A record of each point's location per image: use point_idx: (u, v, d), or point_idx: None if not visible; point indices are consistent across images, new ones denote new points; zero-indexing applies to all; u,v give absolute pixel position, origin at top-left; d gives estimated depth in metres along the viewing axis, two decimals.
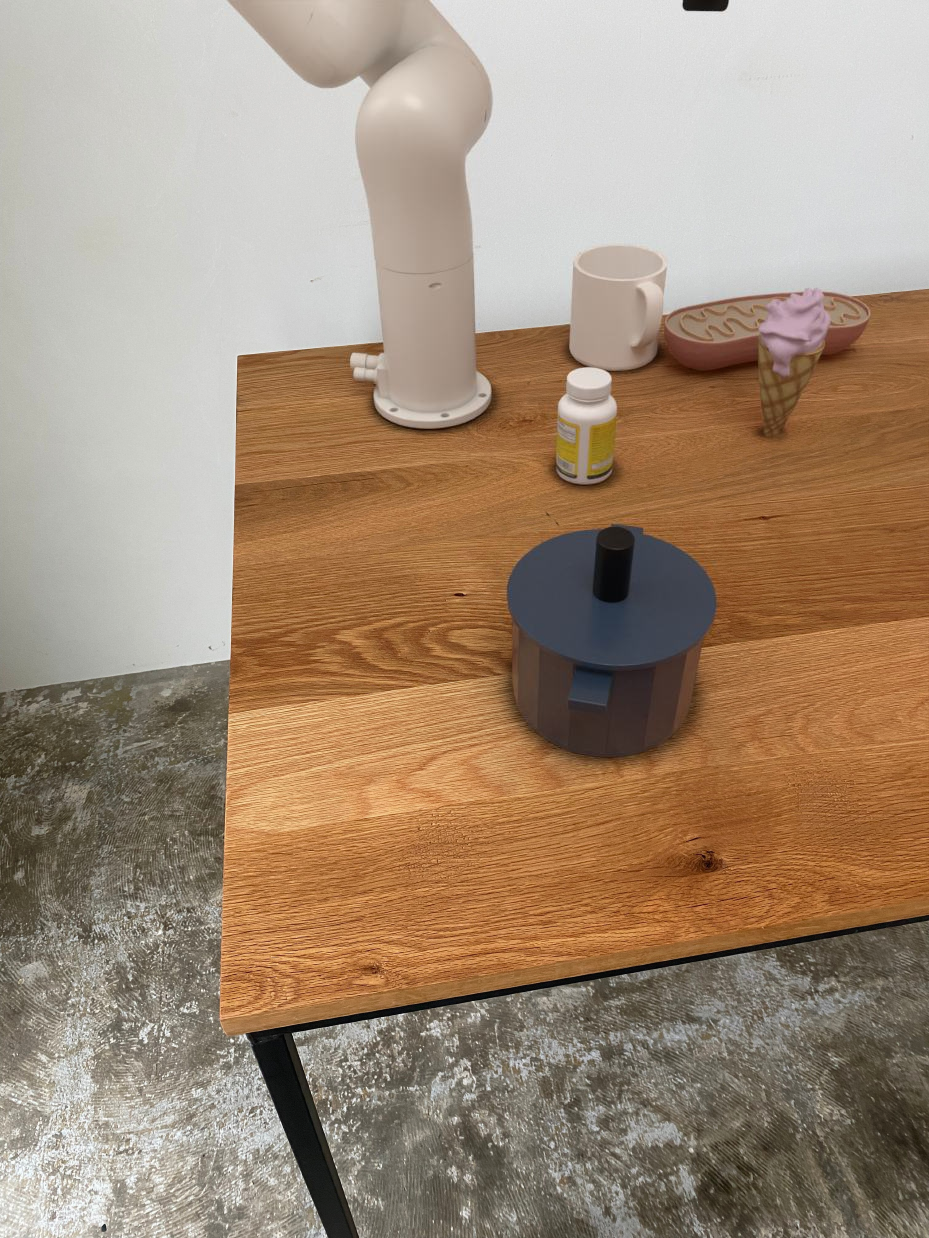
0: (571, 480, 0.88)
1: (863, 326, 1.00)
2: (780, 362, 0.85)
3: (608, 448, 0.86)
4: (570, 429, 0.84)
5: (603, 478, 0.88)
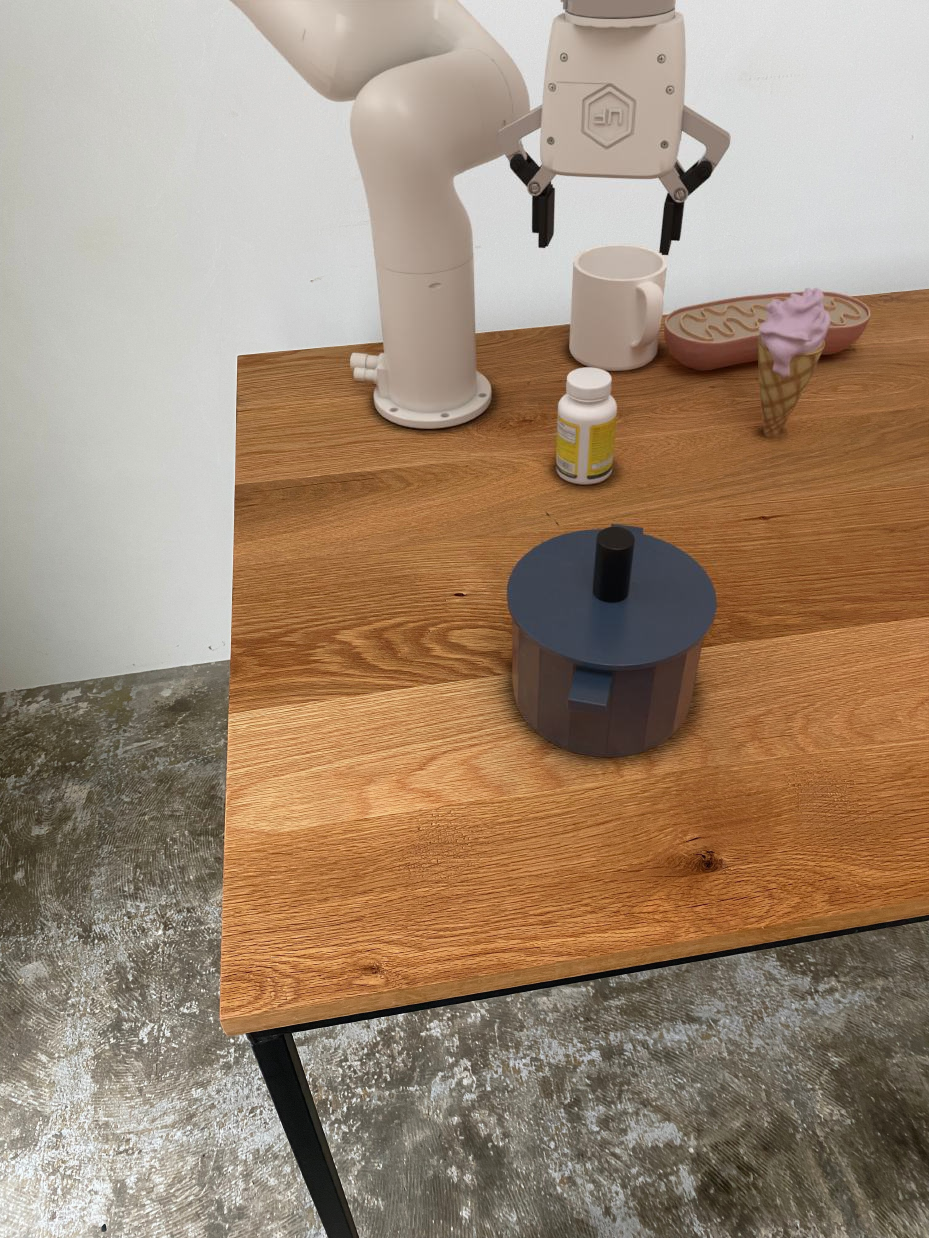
0: (571, 480, 0.88)
1: (863, 326, 1.00)
2: (780, 362, 0.85)
3: (608, 448, 0.86)
4: (570, 429, 0.84)
5: (603, 478, 0.88)
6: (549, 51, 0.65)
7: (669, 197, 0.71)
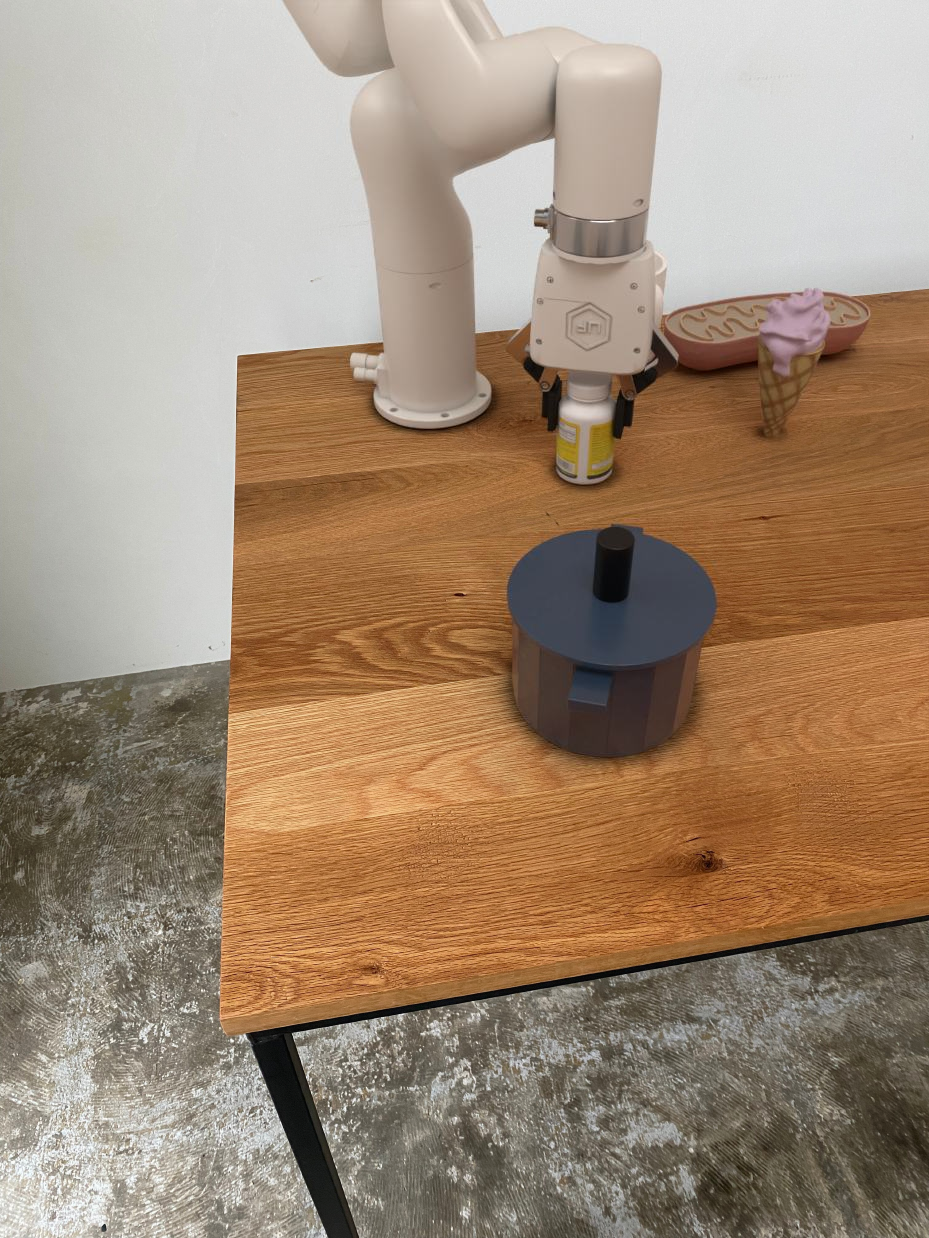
0: (571, 480, 0.88)
1: (863, 326, 1.00)
2: (780, 362, 0.85)
3: (608, 448, 0.86)
4: (570, 429, 0.84)
5: (603, 478, 0.88)
6: (537, 273, 0.76)
7: (621, 394, 0.82)
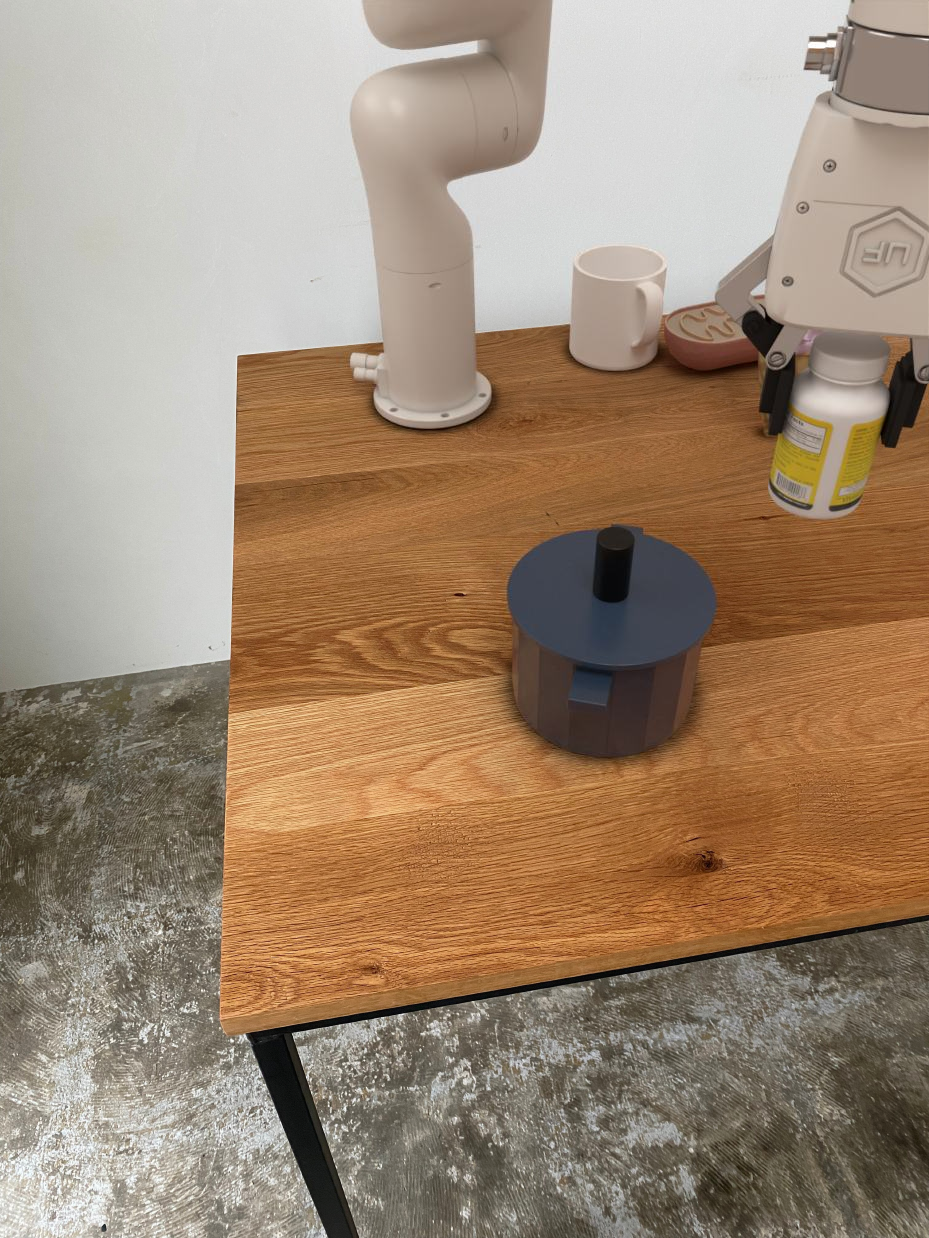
0: (800, 512, 0.54)
1: None
2: None
3: (869, 462, 0.53)
4: (814, 431, 0.51)
5: (852, 509, 0.54)
6: (804, 155, 0.43)
7: (908, 374, 0.49)
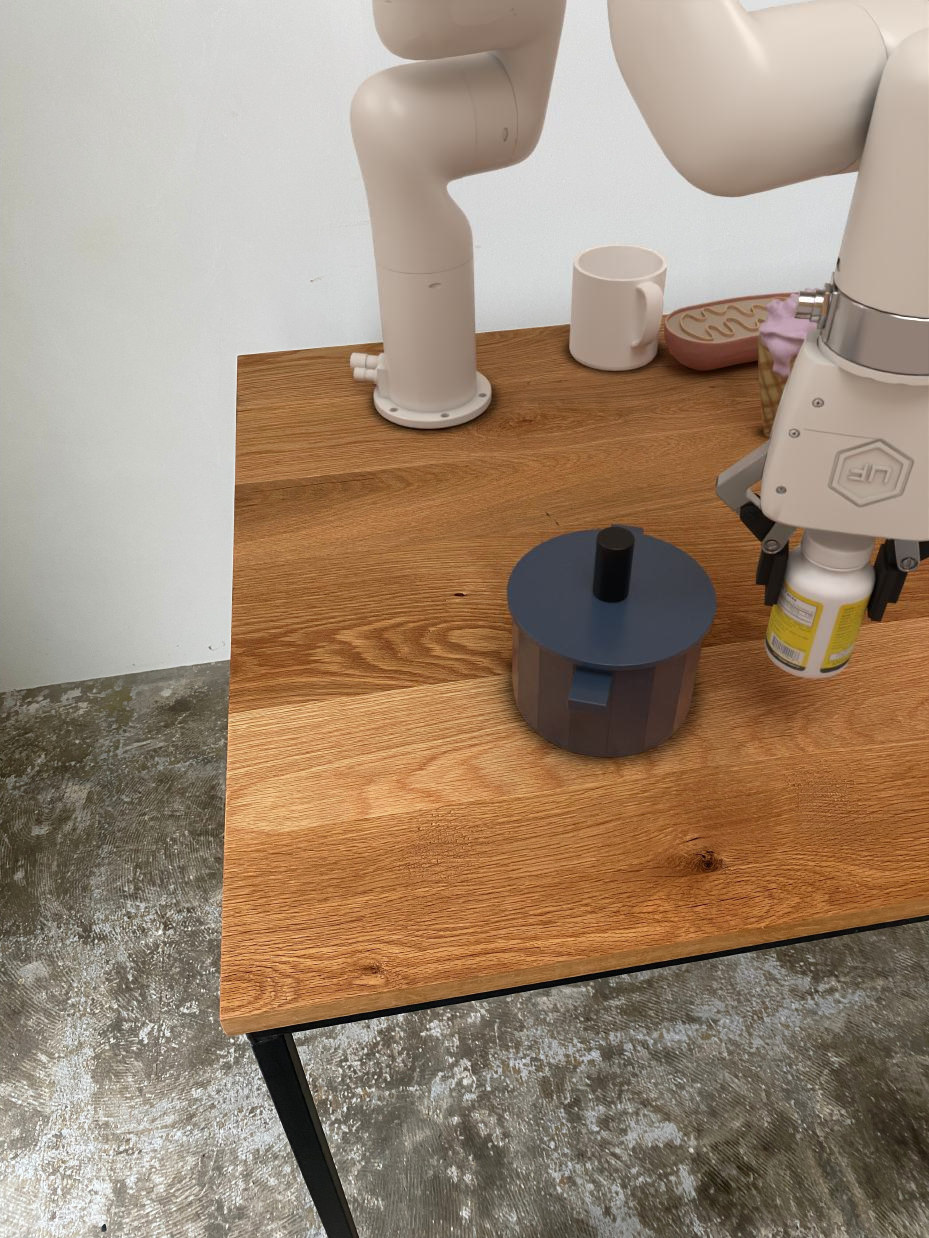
0: (794, 672, 0.59)
1: None
2: (780, 362, 0.85)
3: (857, 631, 0.57)
4: (806, 607, 0.56)
5: (841, 669, 0.59)
6: (795, 391, 0.48)
7: (891, 561, 0.54)
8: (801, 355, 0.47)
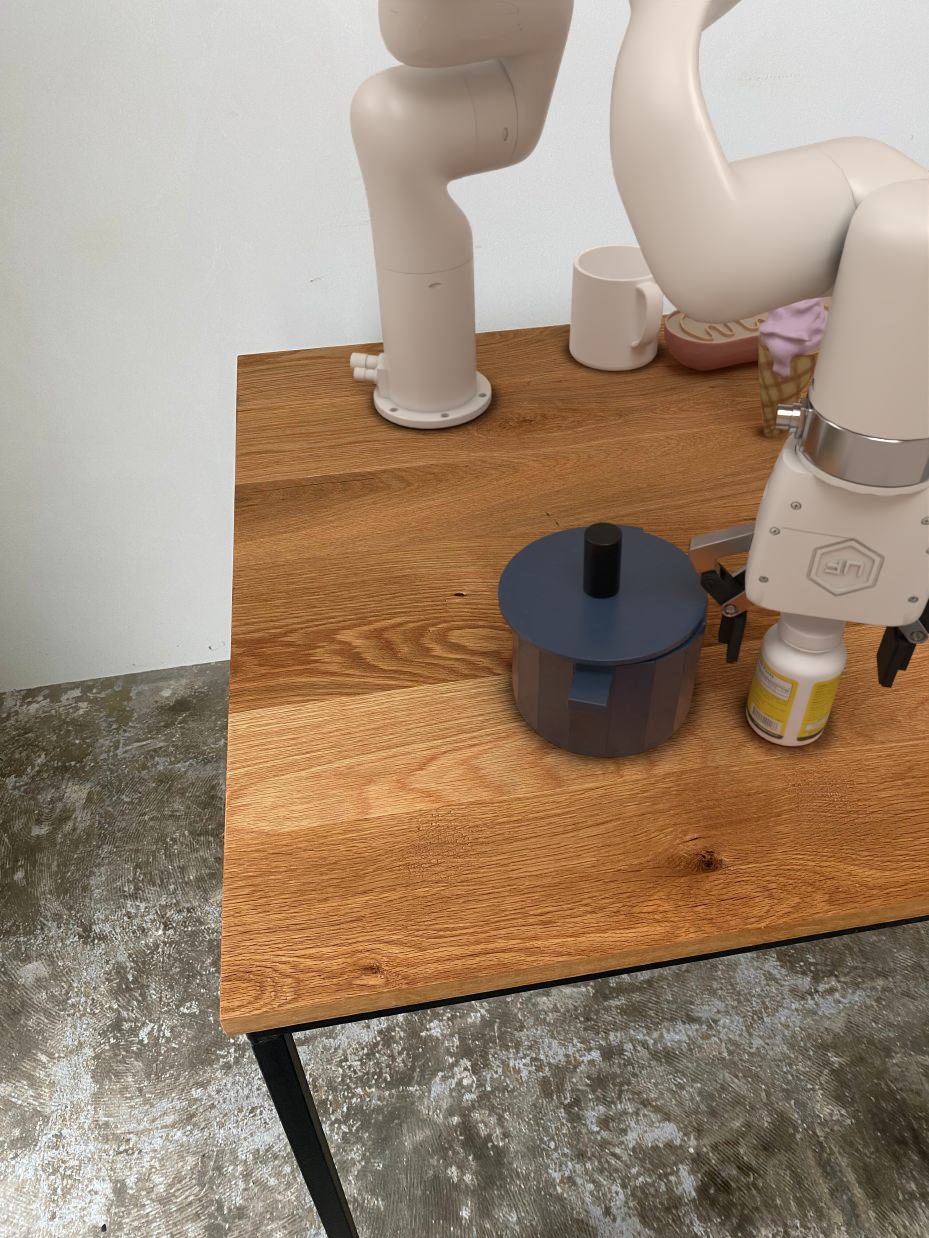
0: (773, 740, 0.64)
1: None
2: (780, 362, 0.85)
3: (830, 703, 0.62)
4: (782, 684, 0.60)
5: (817, 737, 0.64)
6: (775, 493, 0.52)
7: (901, 633, 0.57)
8: (780, 461, 0.52)
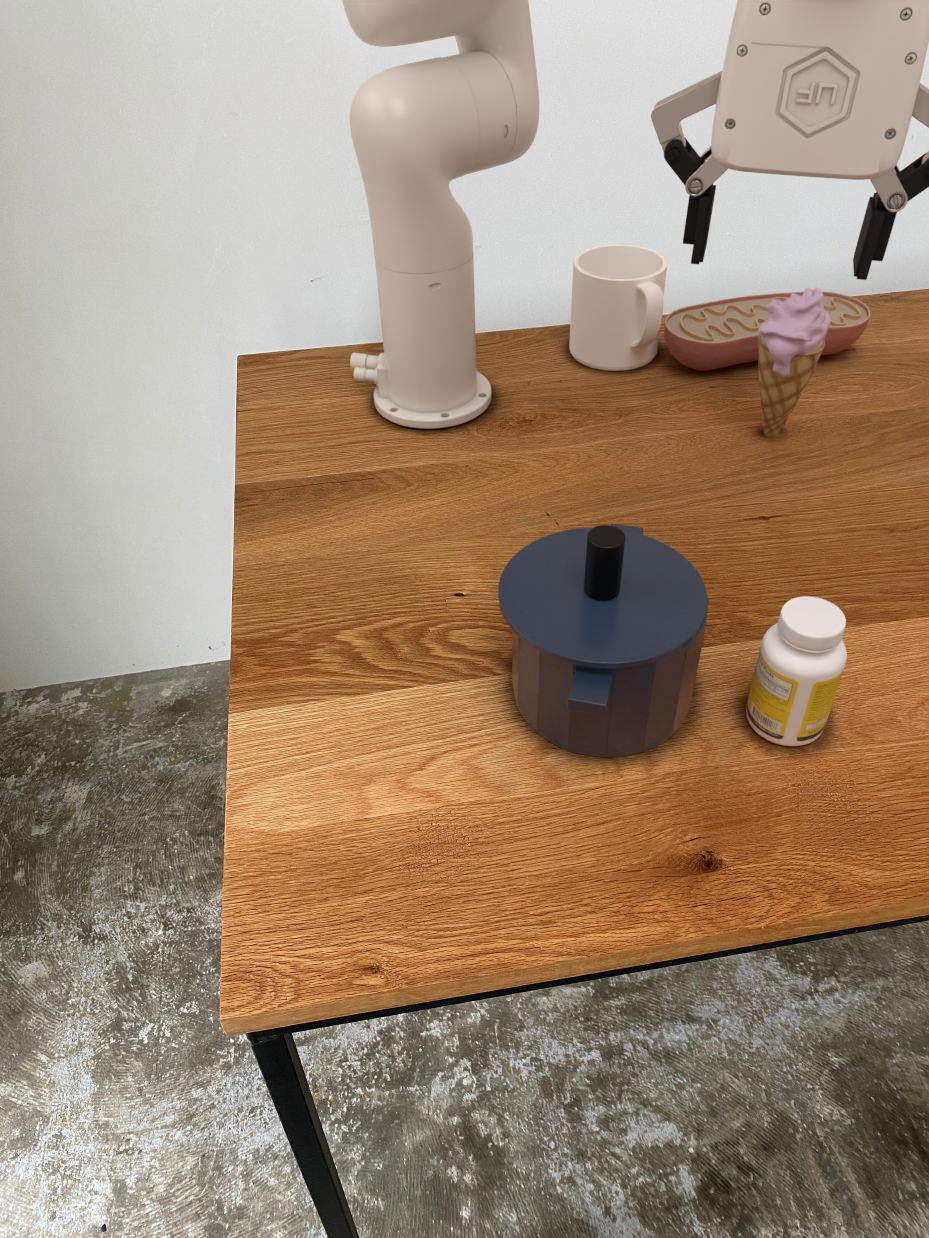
0: (773, 740, 0.64)
1: (863, 326, 1.00)
2: (780, 362, 0.85)
3: (830, 703, 0.62)
4: (782, 684, 0.60)
5: (817, 737, 0.64)
6: (743, 0, 0.48)
7: (878, 204, 0.53)
8: None
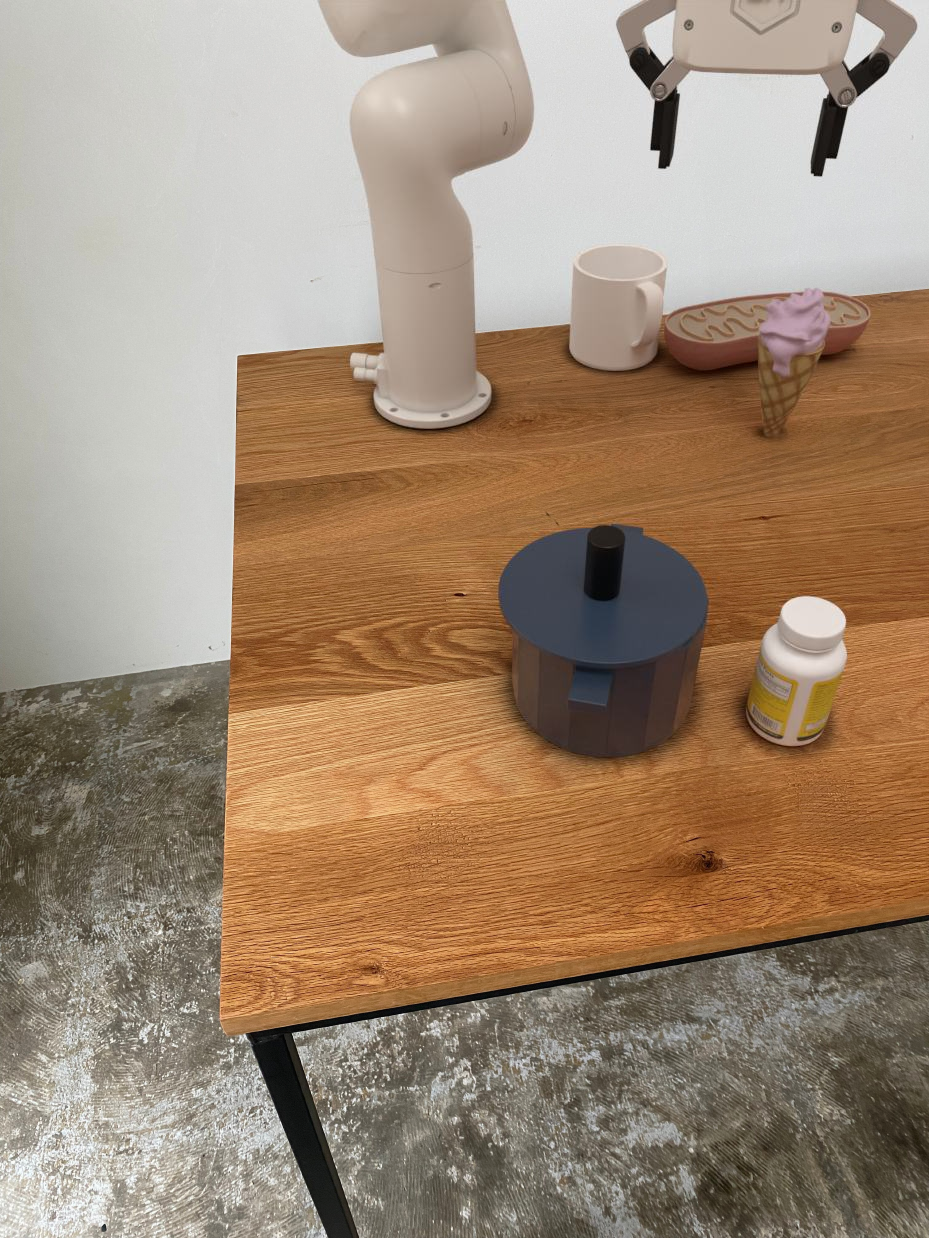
0: (773, 740, 0.64)
1: (863, 326, 1.00)
2: (780, 362, 0.85)
3: (830, 703, 0.62)
4: (782, 684, 0.60)
5: (817, 737, 0.64)
6: None
7: (830, 101, 0.57)
8: None
